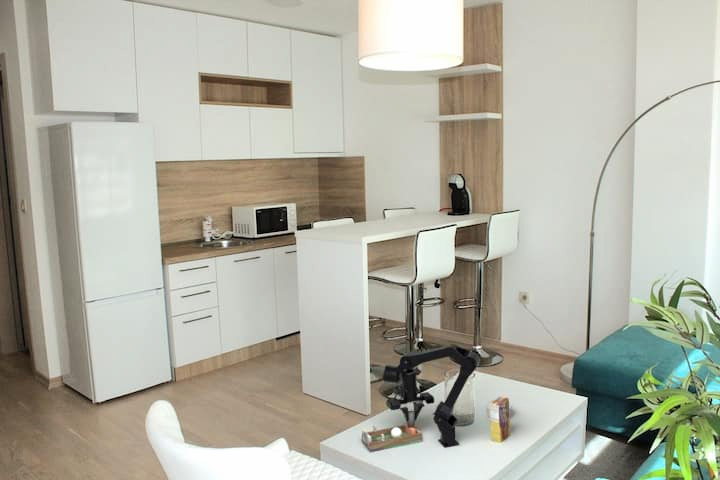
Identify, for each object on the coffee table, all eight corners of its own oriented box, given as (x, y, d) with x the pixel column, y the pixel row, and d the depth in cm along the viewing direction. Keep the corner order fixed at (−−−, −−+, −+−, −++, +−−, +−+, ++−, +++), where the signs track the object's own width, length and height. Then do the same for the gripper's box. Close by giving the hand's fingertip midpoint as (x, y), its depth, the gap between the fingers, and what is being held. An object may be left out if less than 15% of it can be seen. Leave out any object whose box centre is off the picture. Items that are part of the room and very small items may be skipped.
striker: (418, 437, 242) (417, 414, 240) (411, 439, 241) (410, 415, 240) (411, 430, 248) (410, 408, 247) (404, 431, 247) (403, 409, 246)
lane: (422, 441, 241) (421, 427, 240) (370, 452, 234) (369, 437, 233) (412, 431, 250) (412, 417, 249) (362, 441, 243) (361, 427, 243)
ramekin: (508, 410, 267) (508, 399, 266) (515, 421, 256) (515, 409, 255) (483, 412, 267) (482, 400, 266) (489, 422, 256) (488, 410, 255)
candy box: (500, 432, 246) (500, 396, 244) (510, 434, 243) (509, 398, 241) (490, 440, 239) (489, 403, 237) (500, 443, 237) (499, 405, 235)
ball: (403, 439, 241) (403, 429, 241) (393, 441, 240) (393, 431, 239) (399, 435, 245) (399, 424, 245) (389, 437, 244) (389, 426, 243)
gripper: (422, 374, 252) (424, 410, 254) (380, 381, 247) (382, 417, 249) (434, 382, 242) (435, 420, 244) (390, 390, 236) (392, 428, 238)
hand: (411, 421), depth 244 cm, fingers closed on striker, 3 cm apart
